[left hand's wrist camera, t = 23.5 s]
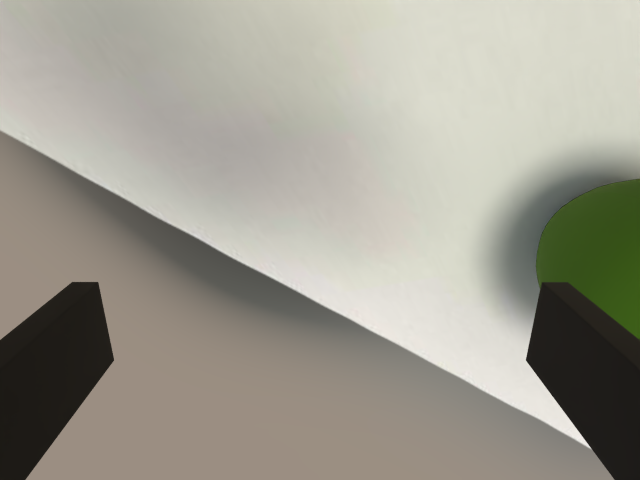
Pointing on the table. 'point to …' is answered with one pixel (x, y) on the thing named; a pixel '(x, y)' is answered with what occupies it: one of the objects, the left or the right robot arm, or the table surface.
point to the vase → (598, 250)
